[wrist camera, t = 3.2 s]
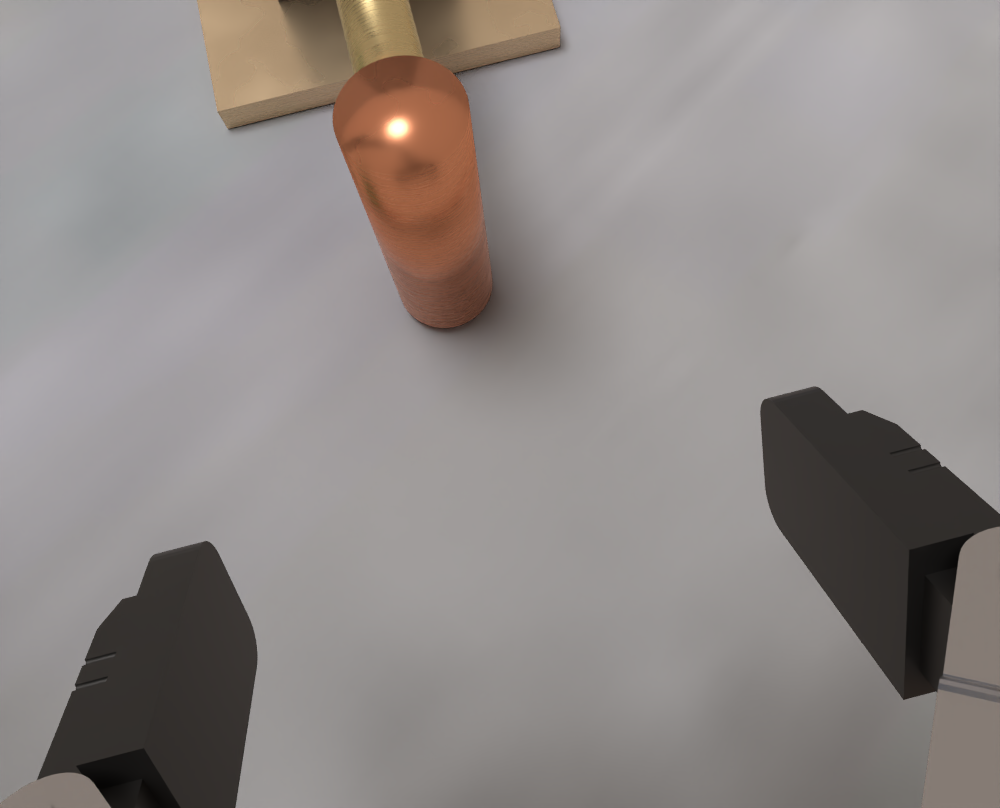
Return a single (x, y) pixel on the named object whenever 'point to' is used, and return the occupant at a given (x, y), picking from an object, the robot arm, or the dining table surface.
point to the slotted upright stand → (324, 54)
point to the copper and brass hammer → (413, 164)
